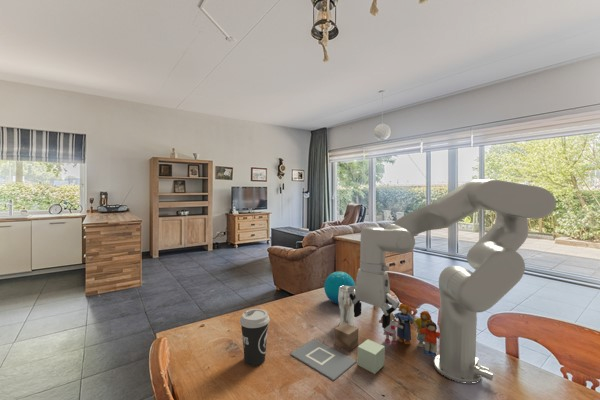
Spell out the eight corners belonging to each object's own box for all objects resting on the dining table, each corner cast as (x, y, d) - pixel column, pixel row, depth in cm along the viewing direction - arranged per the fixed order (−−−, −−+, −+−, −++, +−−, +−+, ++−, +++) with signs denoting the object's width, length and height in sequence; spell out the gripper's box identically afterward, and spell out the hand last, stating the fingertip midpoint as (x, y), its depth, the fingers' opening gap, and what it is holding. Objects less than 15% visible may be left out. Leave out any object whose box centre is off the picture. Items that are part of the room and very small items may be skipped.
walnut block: (358, 344, 98) (358, 328, 97) (348, 351, 93) (348, 334, 93) (344, 338, 102) (344, 322, 101) (334, 344, 97) (334, 328, 97)
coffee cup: (256, 347, 95) (256, 305, 95) (275, 358, 89) (276, 313, 88) (233, 361, 88) (233, 314, 87) (253, 374, 82) (253, 324, 81)
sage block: (384, 365, 86) (384, 346, 86) (374, 374, 82) (375, 354, 82) (367, 356, 91) (367, 339, 90) (357, 365, 86) (357, 346, 86)
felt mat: (356, 362, 88) (356, 360, 88) (333, 380, 79) (333, 379, 79) (313, 340, 100) (313, 338, 100) (290, 354, 91) (290, 353, 91)
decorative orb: (342, 294, 144) (342, 266, 143) (361, 305, 131) (362, 274, 130) (318, 300, 136) (318, 270, 136) (336, 312, 123) (337, 279, 123)
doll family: (377, 341, 100) (378, 305, 99) (383, 329, 108) (384, 296, 108) (443, 359, 89) (444, 319, 89) (444, 345, 97) (445, 308, 97)
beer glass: (356, 329, 108) (357, 291, 108) (339, 329, 108) (339, 291, 108) (353, 320, 115) (354, 285, 114) (337, 320, 115) (337, 285, 115)
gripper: (404, 270, 82) (403, 326, 83) (355, 259, 94) (354, 308, 95) (393, 275, 76) (392, 336, 77) (342, 263, 88) (341, 315, 89)
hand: (371, 321), depth 86 cm, fingers open, 9 cm apart
